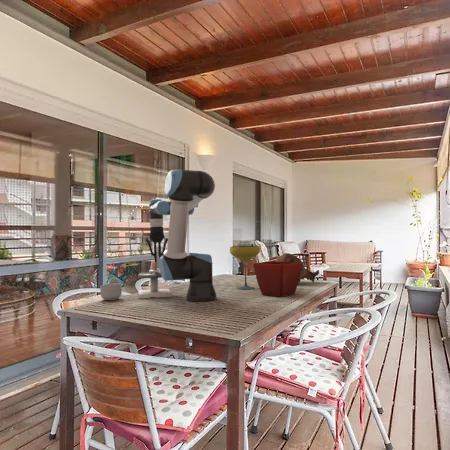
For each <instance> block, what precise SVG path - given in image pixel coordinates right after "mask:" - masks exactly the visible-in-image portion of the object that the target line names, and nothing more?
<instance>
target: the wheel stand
mask: <svg viewBox="0 0 450 450" xmlns="http://www.w3.org/2000/svg"><path fill="white" fill-rule="evenodd" d="M149 279H150V289H143V290H142V289H141V290H138V294H139V295H138V299H151V298H150V297H155V298H167V297H168V298H172V291H171V290H170V289H169V288H160V289H159V278H149Z"/></svg>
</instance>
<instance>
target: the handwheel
mask: <svg viewBox="0 0 450 450" xmlns="http://www.w3.org/2000/svg"><path fill="white" fill-rule="evenodd" d="M150 264H151V266H150V267H151V269H149V271H148V272H139V273H138V275H137V276H138V278H139V279H150V278H158V279H160V278H161V279H162V276H161V273H160V269H158V268H157V262H155V261H151V263H150Z"/></svg>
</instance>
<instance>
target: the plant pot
mask: <svg viewBox="0 0 450 450" xmlns="http://www.w3.org/2000/svg"><path fill="white" fill-rule="evenodd" d="M302 262H303V261H302ZM302 262H280V261H276V260H273V261H264V262H262V261H261V262H253V270H254V273H255V274H254V276H255V279H256V282H257V284H258V287H259V290H260V292H261V295H263V296H271V297H279V298H282V297H287V296H293V295H295V294H296V291H297V289H298V288H297V287H298V284H299V283H300V282H299V278H300V274H301V268H302Z"/></svg>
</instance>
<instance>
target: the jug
mask: <svg viewBox="0 0 450 450" xmlns="http://www.w3.org/2000/svg"><path fill="white" fill-rule="evenodd" d="M275 261H280V262H302V268H301V274H300V278H299V282H298V283H300V282H301V280H302V279H307V280H309V281H311V282H312V283H315V280H316V277H317V276H318V275H320V270H319V269H316V271H310V270H308V269H306V268H305V264H304V263H303V261H302V260H301V259H300V258H299V257H297V256H296V255H294V254H292V253H288V252H285V253H283V254H281V255H280V256H279V257H277V259H276V260H275Z"/></svg>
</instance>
